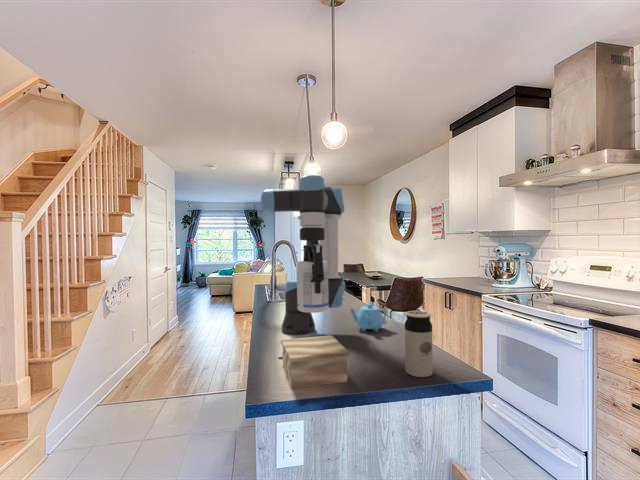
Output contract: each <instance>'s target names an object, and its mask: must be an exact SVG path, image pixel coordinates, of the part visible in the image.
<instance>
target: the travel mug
mask: <svg viewBox="0 0 640 480" xmlns="http://www.w3.org/2000/svg"><path fill="white" fill-rule="evenodd" d="M405 315H406V321H405V323H404V370H405V372H406V374H408V375H410V376H411V377H415V378H427V377H428V378H429V377H430V376H432V375H433V373H434V372H433V371H434V370H433V364H434V363H433V359H434V358H433V324H432V322H431V317H432V313H430V312H428V311H424V310H408V311H406V312H405Z"/></svg>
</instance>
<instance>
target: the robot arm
mask: <svg viewBox="0 0 640 480" xmlns="http://www.w3.org/2000/svg"><path fill="white" fill-rule="evenodd" d="M260 195H261V198H260V204H261V207H262V210H263V211H264V212H268V213H270V212H271V213H275V212H276V213H278V212H279V213H281V212H283V213H284V212H299V215H298V217H297V219H298V220H299V226H300V228H299V240H300V241H306V243H305V245H303V247H302V248H303V260H302V261H311V262H313V263H314V265H313V264H312V276H313V279H311V282H312V305H321V304H322V280H324V271H323V261H327V266H328V292H329V308H328V309H332V308H335V309H337V308H340V307H342V305H343V301H344V294H345V287H346V286H345V285H346V282H345V281H344V280H342V276H341V275H340V274H339V220H340V218H342V214H343V213H345V202H344V196H343V191H342V189H341V187H339V186H326V185H325V179H324V177H323V176H320V175H315V174H314V175H313V174H310V175H309V174H307V175H304V176H301V177H300V178H299V187H298V188H293V189H292V188H286V189H282V188H281V189H265V190H263V191H262V192H261V194H260ZM284 287H285V288H284V290H285V291H284V302H285V303H284V305H285V306H284V308H285V309H284V310H285V312H284V317H283V320H282V323H281V332H282V333H283V334H285V335H286V334H287V335H295V336H298V335H301V336H302V335H309V334H311V333H314V332H315V331H316V322H315V320H314V318H313V313H309V312H301V311H299V310H298V308H297V278H294V279H289V280H287V281H286V282H285V285H284Z"/></svg>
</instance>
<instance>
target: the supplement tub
mask: <svg viewBox="0 0 640 480" xmlns="http://www.w3.org/2000/svg"><path fill="white" fill-rule="evenodd" d="M312 264H313V265H314V263H313V262H311V261H303V260H302V261H296V279H297V308H298V310H299V311H301V312H309V313H311V314H313V313H314V314H315V313H322V312H325V311H328V310H329V309H330V308H329V292H328V266H327V261H323V271H324V280H322V304H321V305H312V282H311V279H313V276H312Z"/></svg>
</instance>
